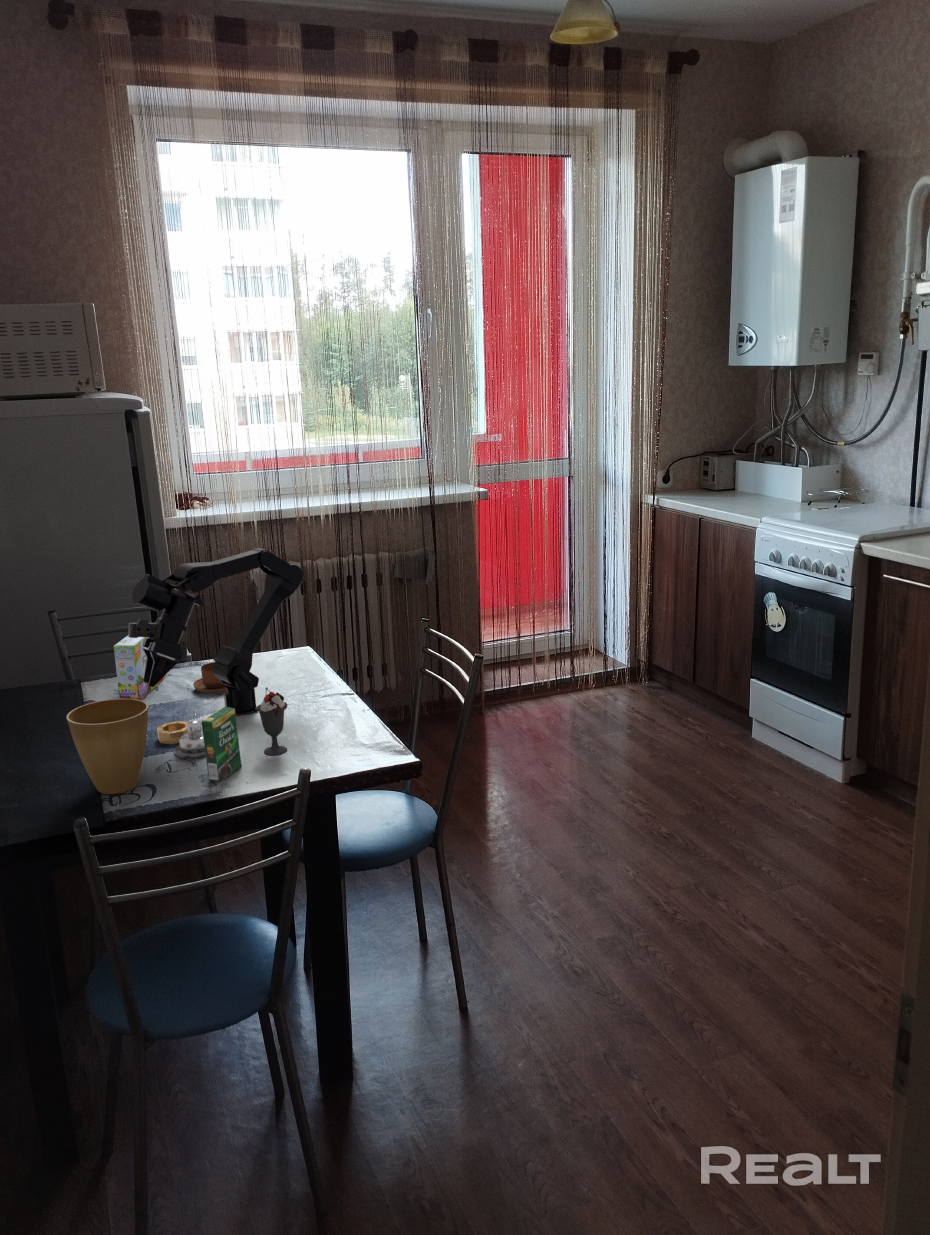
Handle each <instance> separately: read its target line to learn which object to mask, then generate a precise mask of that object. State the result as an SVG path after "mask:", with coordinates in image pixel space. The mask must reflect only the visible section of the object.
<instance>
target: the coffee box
mask: <svg viewBox="0 0 930 1235" xmlns="http://www.w3.org/2000/svg"><path fill="white" fill-rule="evenodd" d="M236 716H237V715H235V708H229V707H225V706H223V707H222V708H220V709H218V710H217V711H216V712H214V713H212V714H211V715H210V716H208V717H206V718H204V719H203V720H202V721H201V731H202V732H203V738H204V746H205V753H206V756H205V760H206V768H207V769H206V770H207V777H208V782H214V783H221V782H222V781H224V780H226V779H227V778H228V777H230V776H231V775H232V774H234V773H235V772H237V771H238V770H239V769H241V768H242V767H243V766H242V758H241V748H240V743H239V742H240V741H239V734H238V724H237V717H236Z"/></svg>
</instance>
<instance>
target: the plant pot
mask: <svg viewBox="0 0 930 1235" xmlns="http://www.w3.org/2000/svg"><path fill="white" fill-rule="evenodd" d="M66 720H67V724H68V727H69V732H70V734H71V737H72V740H73V743H74V745H75V748H76V751H77V753H78V755H79V758H80V761H81V762H82V764H83V767H84V769H85V771H86V773H87V775H88V776H89V779H90V780H91V781H92V784H93V785H94V786H95V788H96V790H97V791H98V792H99V793H100V794H102V795H103V794H104V795H116V794H123V793H127V792H129V791H131V790H132V789H134V788H136V786H137V785H138V782H139V781H138V780H139V778H140V774H141V770H142V765H143V762H144V761H143V760H144V756H145V751H146V743H147V734H148V724H149V723H148V721H149V705H148V703H147V702H146V701H143V700H142V701H141V700H137V699H120V698H111V699H104V700H98V701H97V700H96V701H93V702H90V703H87V704H84V705H81V706H77V707H76V708H74V709H72V710H70V712H68V713H67V715H66Z"/></svg>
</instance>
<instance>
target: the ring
mask: <svg viewBox="0 0 930 1235" xmlns="http://www.w3.org/2000/svg"><path fill="white" fill-rule="evenodd" d="M187 722H188V721H181V720H180V721H179V720H176V721H171V722H166V723H163V724H162V725H160V726H158V727H157V728H156V730H157V738H158V739H157V740H158V741H159V743H160V744H166V745H175V744H180V742H179V739H180V737H181V736H183V735H185V734H188V731H187Z"/></svg>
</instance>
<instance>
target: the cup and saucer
mask: <svg viewBox="0 0 930 1235" xmlns="http://www.w3.org/2000/svg"><path fill="white" fill-rule="evenodd" d="M214 662H215V661H211V662H208V663H204V664H203V665H201V666H200V672H201V678H199V679H196V680H195V681H194V682H193V684H192V685H193V688H194V689H195V690H196V691H198V692H201V693H207V694H214V693H215V694H216V693H224V692H226V688H225V686H226V685H223V684H222V683H221V681H220V679H218V678H217V677H216V676H215V675H214V672H213V664H214Z"/></svg>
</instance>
